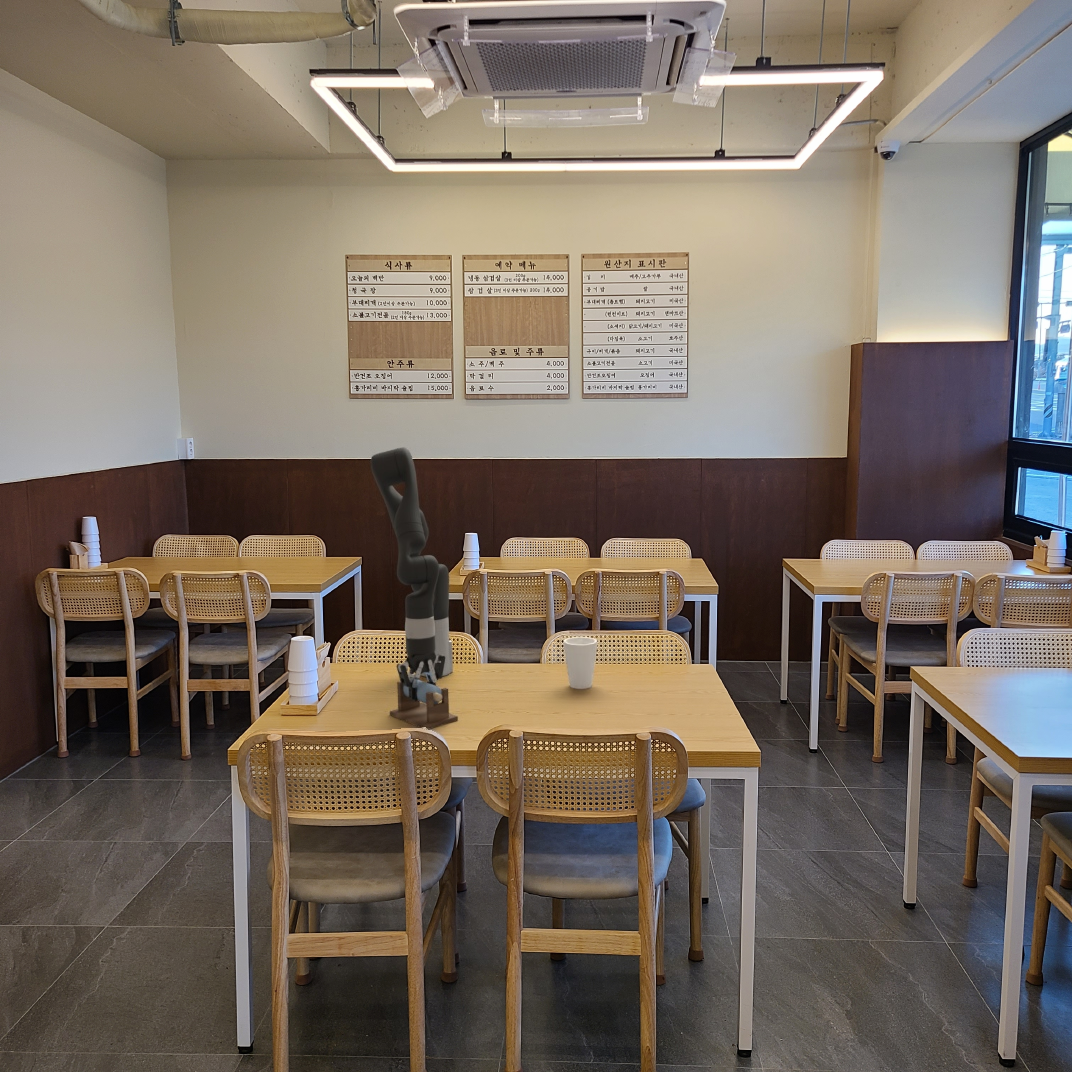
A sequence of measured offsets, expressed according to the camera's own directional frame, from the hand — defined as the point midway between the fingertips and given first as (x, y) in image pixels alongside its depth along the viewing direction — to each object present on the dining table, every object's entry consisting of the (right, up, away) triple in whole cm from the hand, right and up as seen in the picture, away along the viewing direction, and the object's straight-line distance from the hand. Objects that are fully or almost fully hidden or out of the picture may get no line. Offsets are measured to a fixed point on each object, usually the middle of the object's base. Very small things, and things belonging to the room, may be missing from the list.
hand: (422, 698), depth 239 cm
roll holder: (0, -5, +1) cm, 5 cm away
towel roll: (0, -1, 0) cm, 1 cm away
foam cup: (+42, -1, +26) cm, 49 cm away
